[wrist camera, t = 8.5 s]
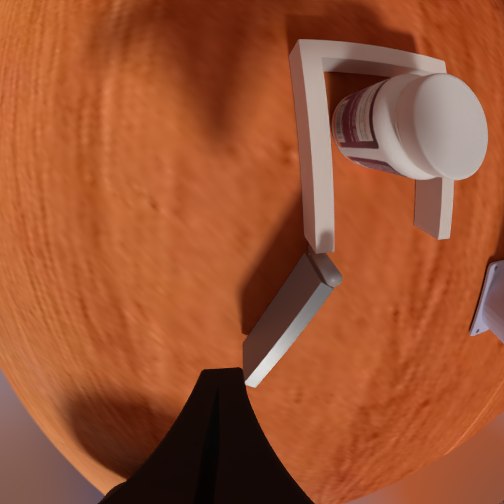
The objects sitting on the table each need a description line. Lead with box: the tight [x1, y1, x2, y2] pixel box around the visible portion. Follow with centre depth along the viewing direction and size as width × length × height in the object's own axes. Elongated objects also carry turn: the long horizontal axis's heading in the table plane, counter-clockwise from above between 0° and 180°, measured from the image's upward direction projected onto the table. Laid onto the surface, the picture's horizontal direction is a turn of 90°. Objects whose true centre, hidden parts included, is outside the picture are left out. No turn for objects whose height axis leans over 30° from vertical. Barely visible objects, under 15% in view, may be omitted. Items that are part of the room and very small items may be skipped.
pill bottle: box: [331, 73, 488, 180], centre depth 11 cm, size 5×5×8 cm
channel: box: [289, 39, 454, 254], centre depth 14 cm, size 9×11×3 cm
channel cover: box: [243, 244, 342, 388], centre depth 16 cm, size 9×1×4 cm, turn 151°
